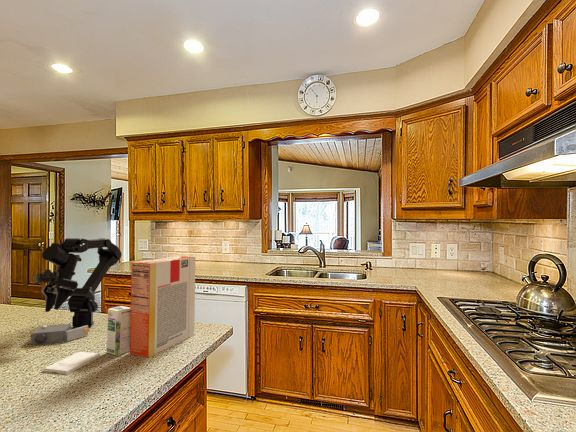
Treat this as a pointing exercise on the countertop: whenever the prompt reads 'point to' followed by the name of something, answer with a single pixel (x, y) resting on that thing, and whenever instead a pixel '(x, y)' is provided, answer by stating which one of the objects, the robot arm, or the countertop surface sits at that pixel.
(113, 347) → the syrup box
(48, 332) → the camera block
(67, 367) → the external hard drive
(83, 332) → the side door
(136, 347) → the cereal box
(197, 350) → the countertop surface
